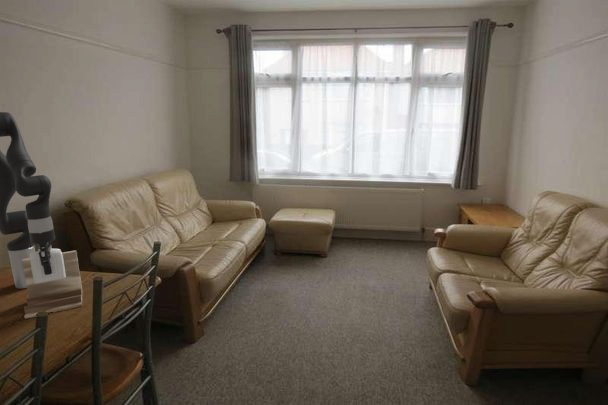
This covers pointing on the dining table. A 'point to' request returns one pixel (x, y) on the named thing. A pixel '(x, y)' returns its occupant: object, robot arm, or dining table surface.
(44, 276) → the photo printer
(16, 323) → the dining table surface
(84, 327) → the dining table surface
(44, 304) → the cleat board
